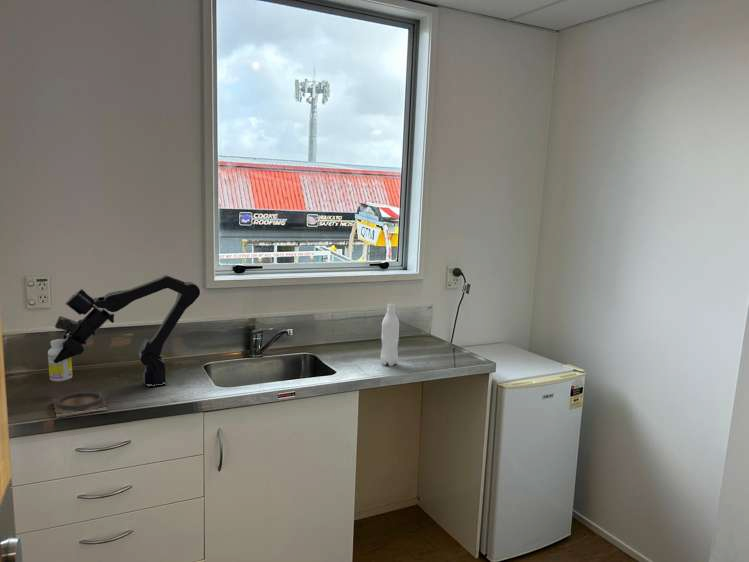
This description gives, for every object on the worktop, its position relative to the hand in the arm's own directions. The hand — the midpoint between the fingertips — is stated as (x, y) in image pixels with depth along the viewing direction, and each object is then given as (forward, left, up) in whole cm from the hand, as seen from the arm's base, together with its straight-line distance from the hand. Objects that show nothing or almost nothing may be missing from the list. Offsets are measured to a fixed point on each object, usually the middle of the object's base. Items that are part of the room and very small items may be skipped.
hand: (55, 359), depth 190 cm
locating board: (-5, +15, -12) cm, 20 cm away
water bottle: (-118, +19, -12) cm, 120 cm away
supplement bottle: (-1, 0, -7) cm, 7 cm away
